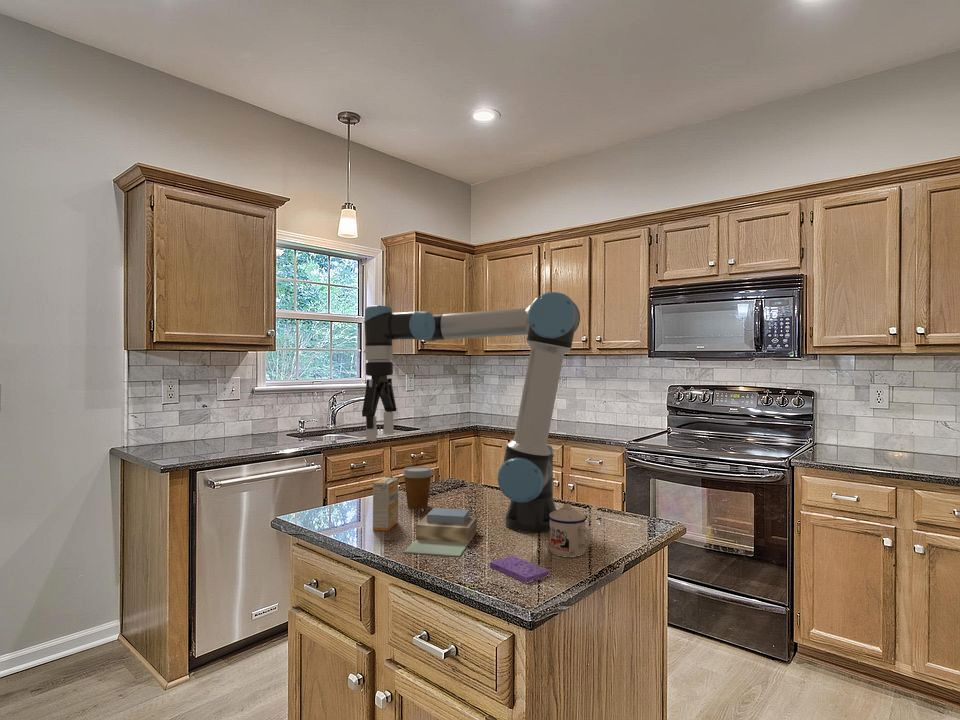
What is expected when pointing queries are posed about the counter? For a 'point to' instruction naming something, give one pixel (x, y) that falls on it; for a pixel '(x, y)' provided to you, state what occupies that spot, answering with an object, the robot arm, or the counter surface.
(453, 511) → the blue-grey rectangular block
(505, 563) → the sponges
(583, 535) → the teacup with lid
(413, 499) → the disposable coffee cup
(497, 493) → the counter surface
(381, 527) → the supplement box
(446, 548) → the mat
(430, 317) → the robot arm
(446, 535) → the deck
